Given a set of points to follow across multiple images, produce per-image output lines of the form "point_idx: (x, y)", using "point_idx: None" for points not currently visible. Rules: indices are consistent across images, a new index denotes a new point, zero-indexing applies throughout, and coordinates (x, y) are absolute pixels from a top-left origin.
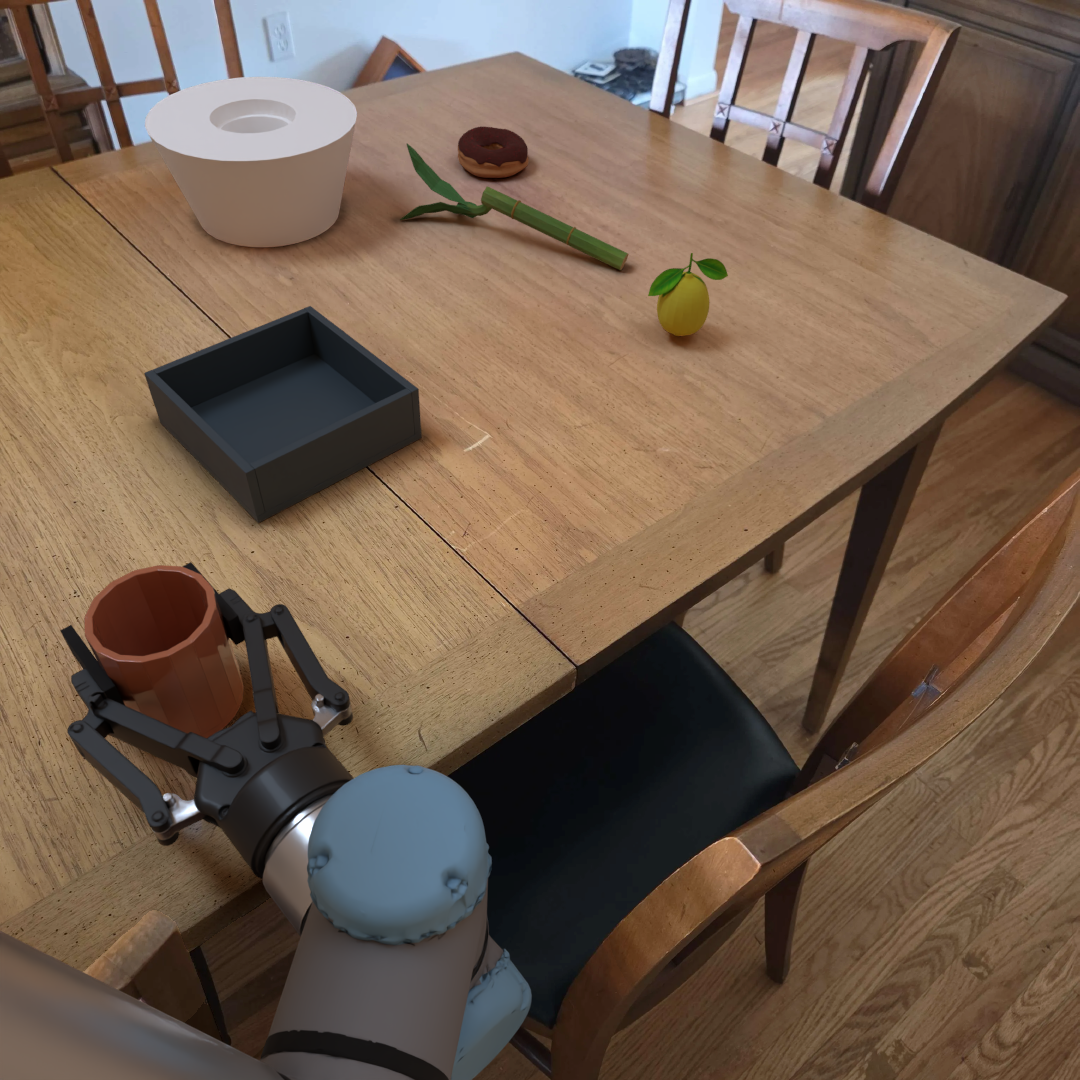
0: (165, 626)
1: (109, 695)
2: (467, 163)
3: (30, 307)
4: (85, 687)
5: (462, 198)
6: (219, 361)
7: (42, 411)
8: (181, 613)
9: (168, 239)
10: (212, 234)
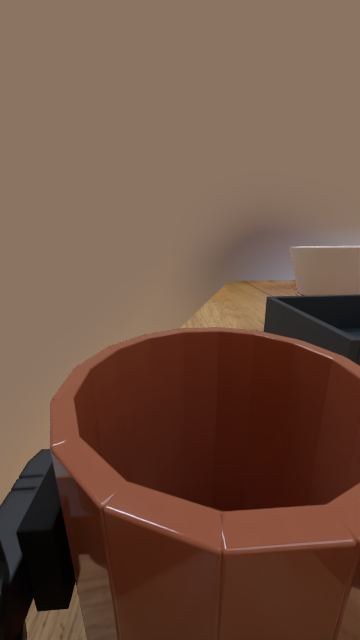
0: (227, 452)
1: (28, 550)
2: None
3: (218, 298)
4: (28, 488)
5: None
6: (314, 306)
7: (204, 320)
8: (260, 440)
9: (282, 293)
10: (304, 293)
